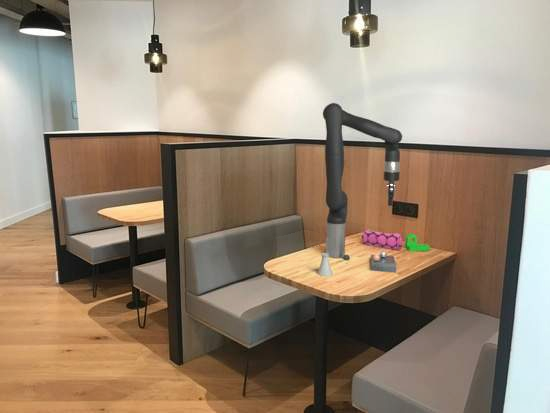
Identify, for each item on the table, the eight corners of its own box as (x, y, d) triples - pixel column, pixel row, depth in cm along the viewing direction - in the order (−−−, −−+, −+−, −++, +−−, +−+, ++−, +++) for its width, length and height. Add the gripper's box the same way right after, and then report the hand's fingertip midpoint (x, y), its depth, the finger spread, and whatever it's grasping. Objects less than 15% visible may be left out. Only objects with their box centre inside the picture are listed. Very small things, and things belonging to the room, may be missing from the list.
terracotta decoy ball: (372, 262, 205) (373, 255, 205) (372, 260, 208) (373, 253, 208) (379, 262, 205) (380, 255, 204) (379, 260, 208) (379, 254, 207)
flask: (322, 272, 199) (322, 250, 197) (336, 275, 195) (336, 253, 193) (313, 276, 194) (313, 254, 192) (327, 279, 189) (327, 257, 187)
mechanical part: (409, 251, 234) (410, 236, 233) (405, 248, 240) (406, 233, 238) (431, 250, 235) (432, 236, 234) (426, 247, 241) (427, 233, 239)
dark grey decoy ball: (347, 257, 213) (347, 263, 214) (351, 254, 215) (350, 259, 216) (342, 255, 214) (342, 260, 216) (345, 252, 217) (345, 257, 218)
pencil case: (360, 246, 242) (361, 229, 240) (366, 243, 250) (367, 226, 248) (398, 252, 231) (399, 234, 229) (404, 248, 239) (405, 230, 237)
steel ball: (378, 258, 213) (379, 253, 211) (380, 253, 215) (381, 249, 213) (385, 259, 212) (385, 254, 210) (387, 255, 214) (387, 250, 212)
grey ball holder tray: (371, 270, 200) (371, 262, 200) (370, 259, 218) (371, 251, 217) (396, 272, 198) (396, 264, 197) (393, 260, 216) (393, 253, 215)
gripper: (383, 169, 221) (382, 203, 224) (384, 171, 208) (382, 207, 211) (398, 169, 219) (397, 203, 222) (400, 172, 207) (398, 208, 210)
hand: (390, 205), depth 217 cm, fingers closed
